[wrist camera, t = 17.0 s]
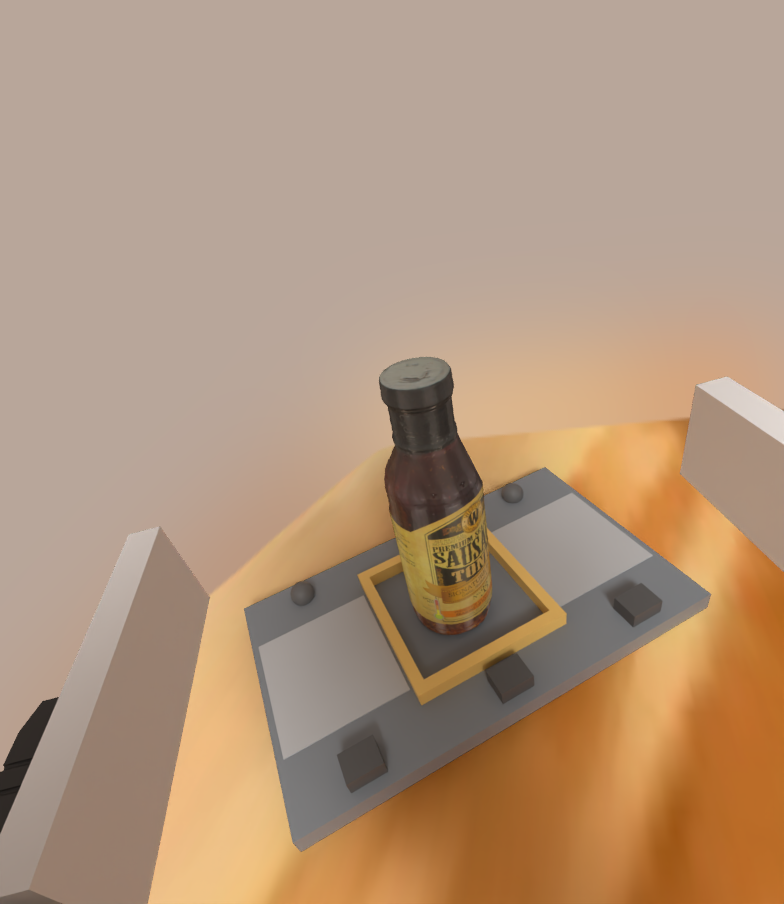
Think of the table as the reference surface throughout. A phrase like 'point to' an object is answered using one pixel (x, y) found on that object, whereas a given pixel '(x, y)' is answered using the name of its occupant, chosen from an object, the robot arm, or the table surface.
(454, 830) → the table surface
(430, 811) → the table surface
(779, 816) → the table surface
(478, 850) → the table surface
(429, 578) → the sauce bottle
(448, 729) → the grey fixture plate
